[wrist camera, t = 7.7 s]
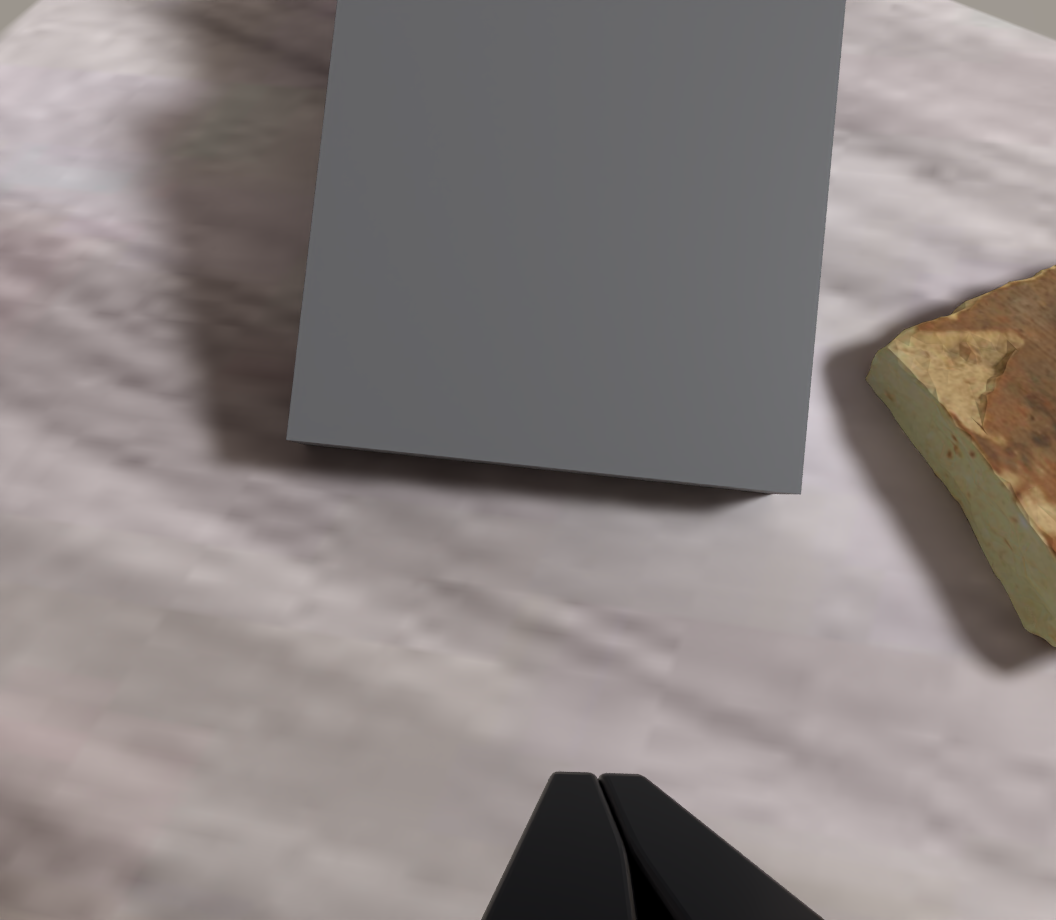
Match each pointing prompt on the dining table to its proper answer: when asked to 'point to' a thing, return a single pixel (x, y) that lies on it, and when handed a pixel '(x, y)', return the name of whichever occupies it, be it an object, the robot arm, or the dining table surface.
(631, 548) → the dining table surface
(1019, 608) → the shard
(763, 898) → the robot arm
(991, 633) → the dining table surface
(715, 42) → the domino
